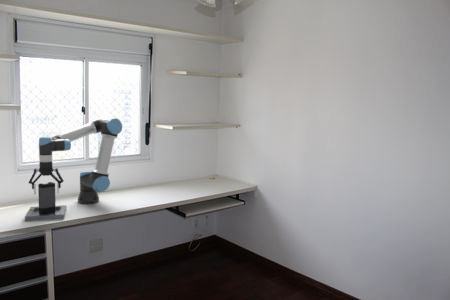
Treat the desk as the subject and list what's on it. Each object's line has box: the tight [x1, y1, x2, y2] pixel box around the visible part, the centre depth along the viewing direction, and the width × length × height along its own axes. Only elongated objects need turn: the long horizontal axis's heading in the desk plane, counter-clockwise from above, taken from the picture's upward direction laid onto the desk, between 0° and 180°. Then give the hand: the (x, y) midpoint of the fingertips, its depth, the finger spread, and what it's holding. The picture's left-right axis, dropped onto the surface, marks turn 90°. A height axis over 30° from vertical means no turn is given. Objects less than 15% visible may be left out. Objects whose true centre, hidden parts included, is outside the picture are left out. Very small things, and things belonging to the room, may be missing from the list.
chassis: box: [24, 204, 67, 222], centre depth 246 cm, size 22×22×4 cm
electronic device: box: [37, 181, 57, 214], centre depth 244 cm, size 9×6×20 cm, turn 141°
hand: (46, 193), depth 244 cm, fingers open, 13 cm apart
